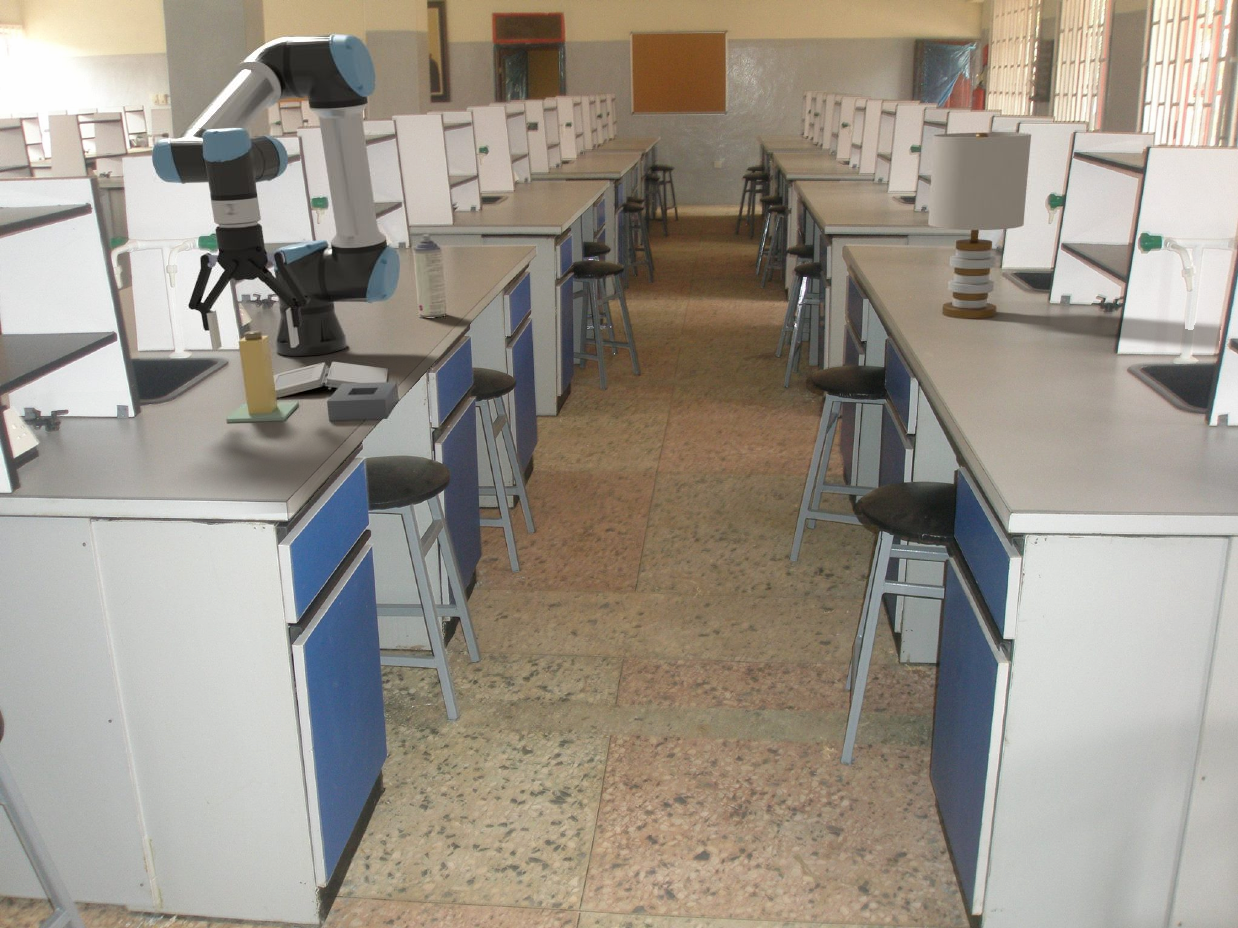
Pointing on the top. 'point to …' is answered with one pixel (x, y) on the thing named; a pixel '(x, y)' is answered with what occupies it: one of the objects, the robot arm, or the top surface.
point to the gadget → (317, 377)
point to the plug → (258, 373)
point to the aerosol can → (429, 278)
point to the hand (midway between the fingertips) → (256, 347)
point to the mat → (277, 415)
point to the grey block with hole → (363, 401)
